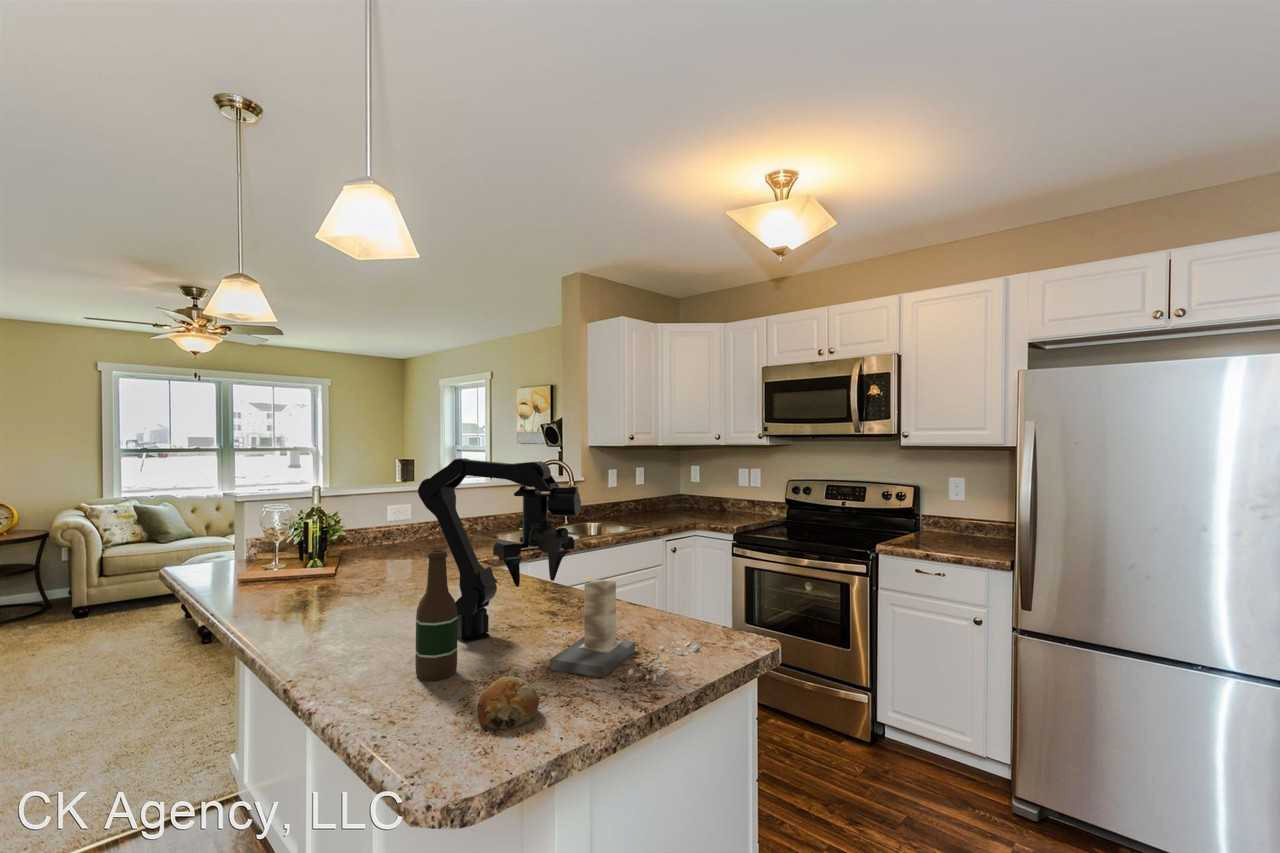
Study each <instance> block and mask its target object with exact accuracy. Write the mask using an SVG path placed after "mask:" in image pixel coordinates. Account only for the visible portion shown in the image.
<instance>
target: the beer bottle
mask: <svg viewBox="0 0 1280 853" xmlns="http://www.w3.org/2000/svg"><path fill="white" fill-rule="evenodd" d="M426 556H427V558H428V566H427V567H428V568H427V581H426V587H425V588H426V589H425V593H424V594H423V596H422V598H421V599H420V600H419V602H418V606H417V607H416V614H415V615H416V616H415V675H416V677H417V678H418V679H419V680H420V681H425V682H437V681H440V680H441V681H442V680H446V679H449V678H450V677H452V676H453V675H454V674H456V672H457V669H458V668H457V667H458V639H457V620H458V616H457V606H456V603H455V602H456V600H455V599H454V597H453V596H452V595H451V593H450V591H449V587H448V586H449V584H448V576H447V575H448V572H447V557H448V552H447V551H446V550H443V549H433V550H431V551H429V552H428V553H427V555H426Z"/></svg>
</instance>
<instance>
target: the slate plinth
mask: <svg viewBox="0 0 1280 853" xmlns="http://www.w3.org/2000/svg"><path fill="white" fill-rule="evenodd" d="M635 652H636V641H632V640H625V639H617V638H616V642H615V643H614V644H613V645H611V646H610V647H608V648H607V649H599V648H592V647H585V646H584V636H583V637H582V638H580V639H578V640H577V641H575V642H574V643H572V644H571V645H569V646H568V647H566V648H564V649H563V650H562V651H560V652H559V653H557V654H556V655H554V656H552V657H551V658H550V659H549V670H552V671H559V672H564V673H569V674H570V673H572V674H576V675H577V674H578V675H582V676H583V675H584V676H589V677H590V676H591V677H597V678H602V679H604V678H606V677H607V676H608V675H610V673H612V672H613V671H614V670H615V669H616V668H618V667H619V666H620V665H621V664H622V663H623V662H624V661H626V660H627V659H628V658H629V657H630V656H632V655H633V654H634V653H635Z"/></svg>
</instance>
